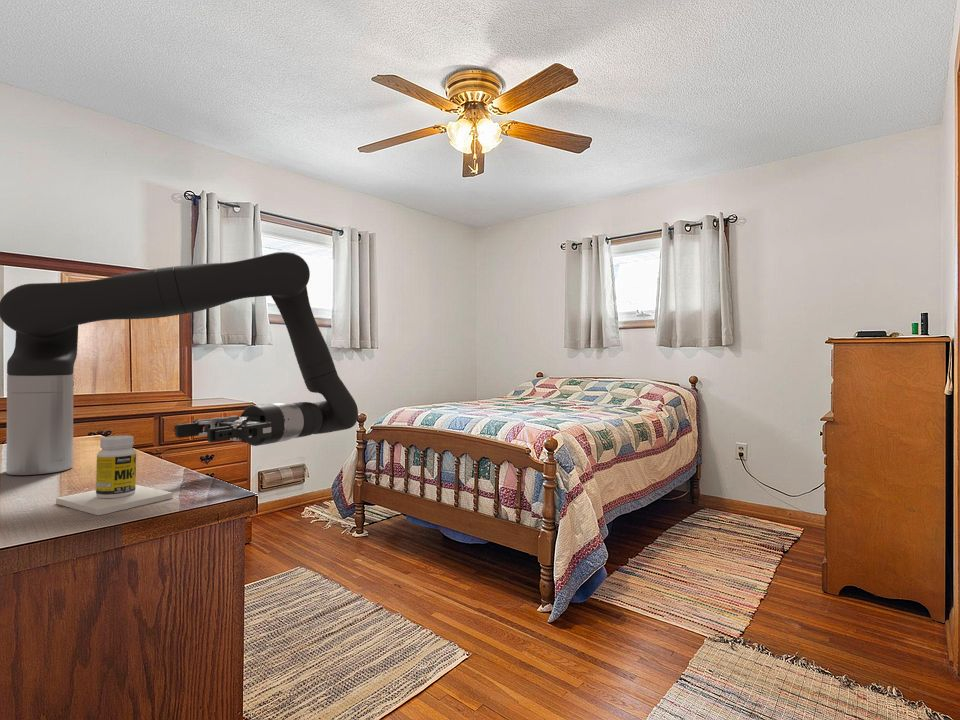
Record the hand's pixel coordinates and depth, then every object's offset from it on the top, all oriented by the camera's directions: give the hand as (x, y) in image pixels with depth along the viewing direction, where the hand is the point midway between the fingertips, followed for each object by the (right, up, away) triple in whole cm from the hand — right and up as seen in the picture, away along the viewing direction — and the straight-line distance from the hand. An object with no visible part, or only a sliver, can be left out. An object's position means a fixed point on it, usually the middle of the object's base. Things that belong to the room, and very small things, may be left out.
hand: (192, 433), depth 87 cm
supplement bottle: (-6, -8, -10) cm, 14 cm away
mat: (-6, -8, -10) cm, 14 cm away
